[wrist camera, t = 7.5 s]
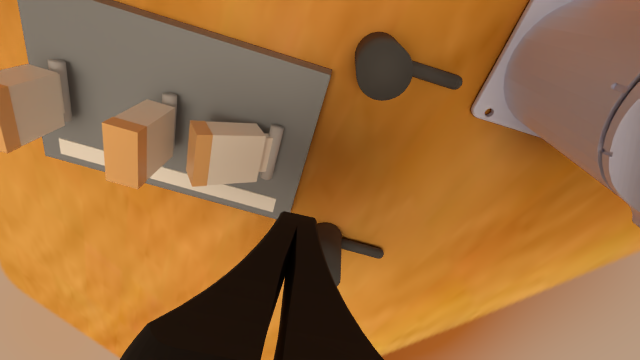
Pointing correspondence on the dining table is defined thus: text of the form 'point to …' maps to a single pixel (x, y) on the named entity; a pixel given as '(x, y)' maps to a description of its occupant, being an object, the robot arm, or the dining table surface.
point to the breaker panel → (174, 90)
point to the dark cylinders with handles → (381, 84)
